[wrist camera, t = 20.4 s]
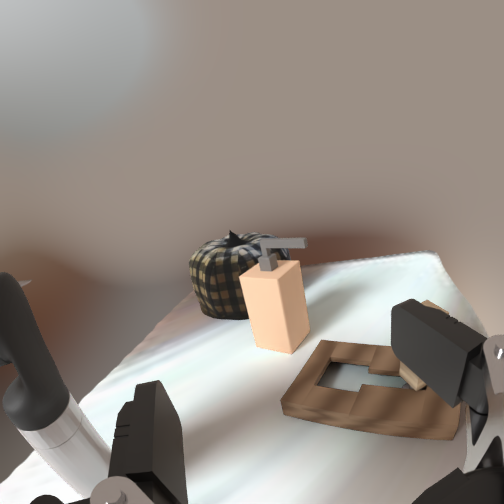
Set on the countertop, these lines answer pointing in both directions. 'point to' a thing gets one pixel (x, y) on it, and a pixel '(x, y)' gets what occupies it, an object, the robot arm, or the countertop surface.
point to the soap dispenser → (276, 298)
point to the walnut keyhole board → (368, 397)
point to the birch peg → (406, 373)
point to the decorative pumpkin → (227, 273)
